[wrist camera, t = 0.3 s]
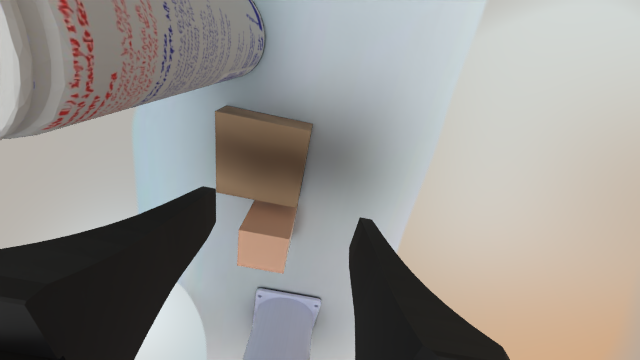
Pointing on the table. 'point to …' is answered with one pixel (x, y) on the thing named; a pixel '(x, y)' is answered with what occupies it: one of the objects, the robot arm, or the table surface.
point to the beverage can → (115, 55)
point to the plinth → (260, 155)
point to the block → (266, 236)
